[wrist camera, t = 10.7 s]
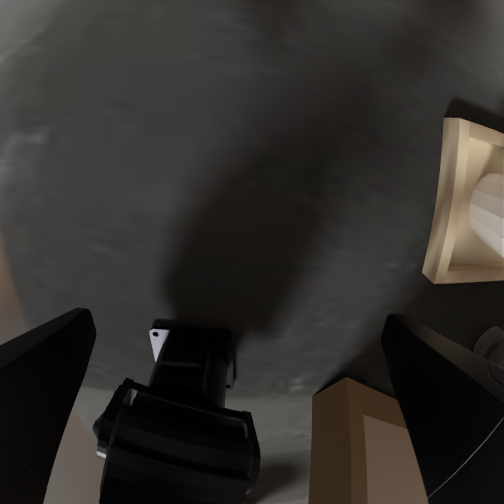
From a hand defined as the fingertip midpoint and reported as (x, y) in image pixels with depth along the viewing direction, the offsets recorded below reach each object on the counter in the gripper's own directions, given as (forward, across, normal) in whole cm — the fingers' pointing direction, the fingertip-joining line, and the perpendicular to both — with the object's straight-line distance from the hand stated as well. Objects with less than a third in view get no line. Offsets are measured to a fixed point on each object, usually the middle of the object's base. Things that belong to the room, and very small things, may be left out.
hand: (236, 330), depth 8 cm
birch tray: (+12, -20, -2) cm, 23 cm away
